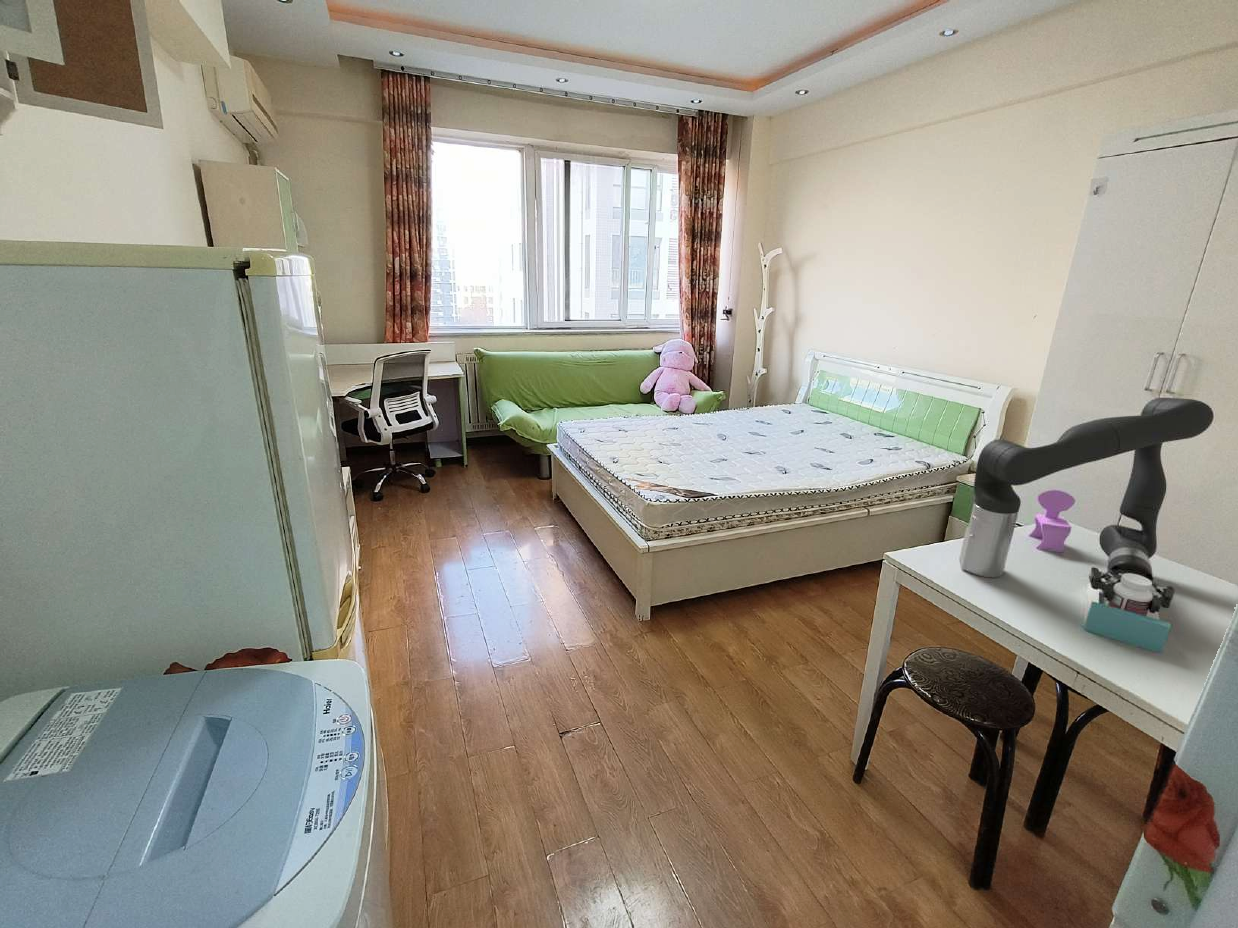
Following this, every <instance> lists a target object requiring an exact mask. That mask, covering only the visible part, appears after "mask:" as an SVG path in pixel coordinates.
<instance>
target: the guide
mask: <svg viewBox="0 0 1238 928" xmlns="http://www.w3.org/2000/svg"><path fill="white" fill-rule="evenodd" d="M1084 609H1085V610H1084V621H1083V622H1084V624H1083V630H1084V631H1087V632H1089V633H1093V634H1096V635H1100V636H1103V637H1107V638H1110V639H1114V640H1117V641H1118V642H1119V641H1120V642H1123V643H1126V644H1129V645H1133V646H1136V647H1140V648H1142V649H1146V650H1148V651H1149V650H1150V651H1153V652H1156V653H1159V654H1161V653H1162V650H1163V648H1164V646H1165V643H1166V640H1167V637H1168V635H1169V633H1170V629H1171V623H1170V622H1169V621H1164V620H1161V619H1160V615H1159V614H1160V613H1159V612H1155V613H1150V612H1149V610H1148V613H1147V616H1143V615H1140V614H1136V613H1133V612H1129V611H1125V610H1122V609H1118V608H1115V607H1111V606H1108V604H1103V603H1101V602H1100V589H1098V590H1096V589H1093V588H1092V587H1091V584H1090V582H1088V583H1087V586H1086V595H1085V608H1084Z"/></svg>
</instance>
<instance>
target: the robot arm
mask: <svg viewBox="0 0 1238 928" xmlns="http://www.w3.org/2000/svg"><path fill="white" fill-rule="evenodd" d="M1213 421H1214V411H1213V410H1212V407H1210V405H1208V404H1207V403H1205V402H1203V401H1201V400H1198V399H1193V398H1181V397H1179V398H1178V397H1177V398H1175V397H1155V398H1153V399H1151V400H1149V401H1148V402H1147V403H1146V404H1145V405H1144V407H1143V409H1142V410H1141V413H1140V415H1126V416H1123V415H1122V416H1114V417H1106V418H1098V419H1095V420H1091V421H1087V422H1082V423H1079V424H1077V425H1073V426H1072V427H1070V428H1068V429H1067V430H1065V431H1064V432H1063V434H1061V435H1060V437H1059V438H1058V440H1057V441H1054V442H1053V443H1051V444H1046V445H1042V446H1037V447H1026V446H1023V445H1021V444H1018V443H1015V442H1013V441H1010V440H1006V439H1001V438H999V439H994V440H992V441H990V442H988V443H987V444H986V445H985V446H984V447H983V448H982V450H981V451H980V453H979V456H978V459H977V462H976V469H975V476H974V480H973V481H974V483H973V494H974V502H973V506H972V510H971V515H970V517H969V518H970V519H969V523H968V526H966V527H965V532H964V536H963V539H962V540H963V541H962V545H961V550H960V555H959V563H960V568H961V570H962V571H967V572H968V573H971V574H974V575H977V576H980V577H985V578H998V577H1001V576H1002V575H1003V574H1004V572H1005V571H1004V570H1005V568H1006V563H1007V560H1008V555H1009V551H1010V548H1011V547H1010V546H1011V543H1012V539H1013V536H1014V531H1015V527H1016V523H1017V519H1018V515H1019V512H1020V508H1021V505H1022V504H1021V503H1022V502H1021V498H1020V496H1019V495H1018V494H1017V493H1016V491H1015V490H1014V488H1013V486H1022V485H1027V484H1030V483H1032V482H1035V481H1037V480H1040V479H1042V478H1045V477H1047V476H1050V475H1053V474H1055V473H1059V472H1060V471H1064V470H1068V469H1071V468H1075V467H1078V466H1082V465H1085V464H1088V463H1093V462H1094V463H1095V462H1097V461H1100V460H1104V459H1108V458H1112V457H1114V456H1118V455H1121V454H1122V455H1123V454H1125V453H1129V452H1131V451H1132V452H1133V451H1134V453H1133V462H1132V469H1131V473H1130V477H1129V481H1128V484H1127V487H1126V488H1125V489H1126V490H1125V493H1124V496H1123V498H1122V501H1121V504H1120V506H1119V514H1121V515H1122V516H1124V517H1126V518H1128V519H1132V520H1133V521H1136V522H1138V523H1139V524H1140V525H1141V530H1140V529H1135V528H1133V527H1127V526H1124V525H1120V524H1109V525H1107V526H1105V527H1104V528H1103V529H1102V530H1101V531H1100V534H1099V545H1100V549H1101V550H1102V551H1103V552H1104V553H1105V555H1106V556H1107V557H1108V559H1107V564H1106V569H1107V571H1106V572H1103V571H1100V570H1099V568H1098V567H1093V566H1092V567H1091V569H1090V573H1089V575H1088V580H1089V583H1090V584H1091V587H1092V588H1093V589H1096V590H1098V589H1099V590H1100V591H1101V592H1102V595H1101V596H1102V597H1103V598H1104V599H1105V601H1106V602H1109V601H1110V602H1111V599H1112V596H1113V587H1114V585H1115V584H1117V583H1119V582H1121V577H1122V575H1123V574H1126V573H1131V574H1137V575H1140V576H1143V577H1145V578H1147V579H1149V580H1150V581H1151V582H1152V585H1151V588H1150V590H1149V591H1150V592H1151V593H1152V595H1153V598H1152V601H1151V604H1150V607H1149V612H1150V613H1155V612H1158V613H1159V612H1160V610H1161V607H1162V608H1164V609H1169V608H1170V607H1171V603H1172V601H1173V598H1174V594H1175V587H1174V586H1171V585H1170V586H1169V585H1167V586H1166V587H1162V586H1158V585H1157V583H1156V582H1154V575H1153V567H1152V562H1151V561H1150V559H1151V558H1152V557H1153V556H1154V555H1155V554H1156V552H1157V548H1158V546H1157V545H1158V544H1157V543H1158V542H1157V541H1158V540H1157V523H1158V522H1157V521H1158V518H1159V515H1160V511H1161V508H1162V505H1163V503H1164V500H1165V497H1166V494H1167V478H1166V475H1165V470H1164V467H1163V464H1162V463H1163V462H1162V455H1161V454H1162V447H1163V443H1169V442H1175V441H1181V440H1187V439H1188V440H1189V439H1192V438H1194V437H1197V436H1199V435H1201V434H1203V433H1204V432H1205V431H1206V430H1208V429H1209V428H1210V426H1211V425H1212V423H1213ZM1102 579H1104V581H1103V580H1102Z"/></svg>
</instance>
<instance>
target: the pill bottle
mask: <svg viewBox="0 0 1238 928" xmlns="http://www.w3.org/2000/svg"><path fill="white" fill-rule="evenodd" d="M1151 585H1152V582H1151V581H1150V580H1149V579H1147V578H1145V577H1143V576H1140V575H1137V574H1131V573H1126V574H1123V575H1122V577H1121V582H1119V583H1117V584H1115V585H1114V587H1113V596H1112V599H1111V602H1110V601H1108V603H1107V606H1111V607H1115V608H1118V609H1122V610H1125V611H1129V612H1133V613H1136V614H1140V615H1143V616H1147V613H1148V610H1149V607H1150V604H1151V601H1152V598H1153V595H1152V593H1151V592H1150V591H1149V590H1150V588H1151Z"/></svg>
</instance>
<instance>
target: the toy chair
mask: <svg viewBox="0 0 1238 928" xmlns="http://www.w3.org/2000/svg"><path fill="white" fill-rule="evenodd" d="M1036 500H1037V502H1038V504H1039V505H1040V506H1041V508H1043V509H1045V510H1044V514H1040V513H1036V514H1035V517H1034V521H1035V527H1034V529H1033V530H1032V531H1031V532H1030V533H1029V534H1028V536H1029V537H1034V538H1041V539H1042V540H1041V542H1040V543H1039V544H1038V545H1037V546H1036V547H1035V548H1036V549H1037V550H1044V551H1051V552H1057V553H1065V547H1064V546H1065V545H1064V544H1065V541H1066V540H1067V538H1068V537H1069V536H1070V534H1071V532H1072V526H1071V525H1070V523H1069V522H1068V521H1067V519H1066V518H1065V517H1062V516H1060V513H1061V512H1065V511H1068V510H1069V509H1070V508H1072V507H1073V506H1074V505H1075V502H1076V500H1075V497H1073V496H1072V495H1071V494H1069V493H1068V492H1066V491H1063V490H1060V489H1049V490H1046V491H1043V492H1041V493H1039V494H1038V496H1037V498H1036Z"/></svg>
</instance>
